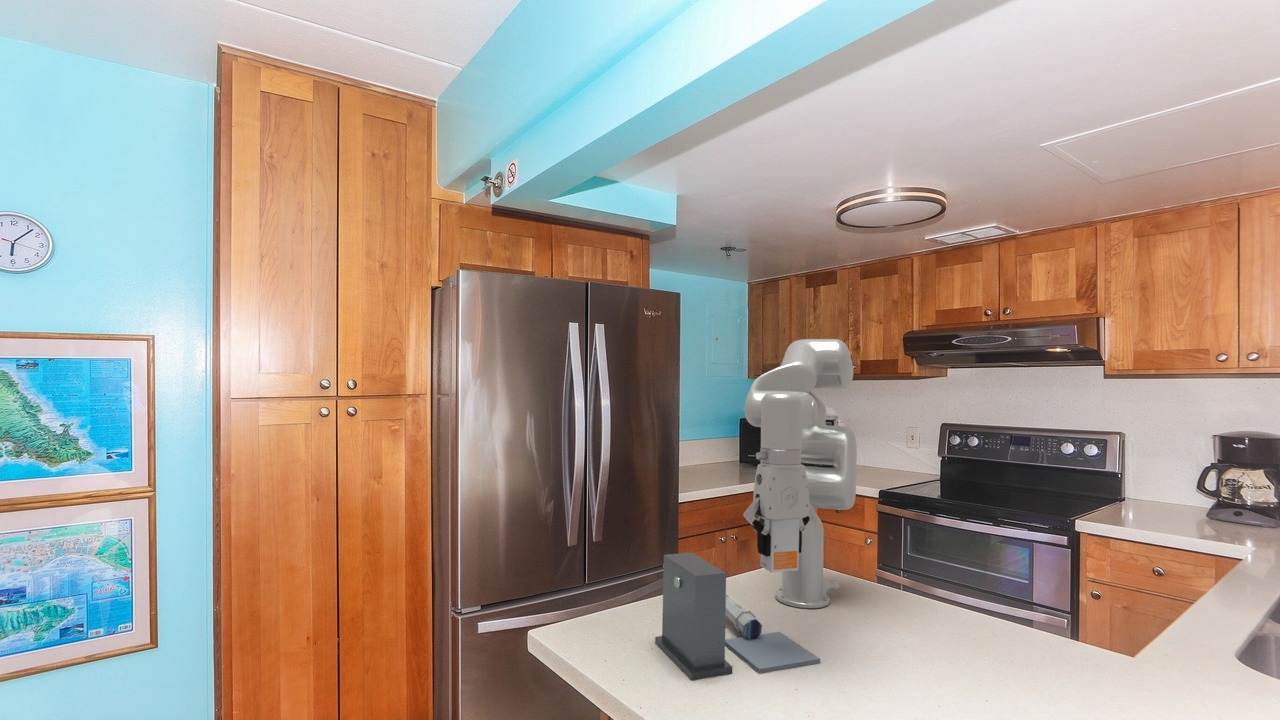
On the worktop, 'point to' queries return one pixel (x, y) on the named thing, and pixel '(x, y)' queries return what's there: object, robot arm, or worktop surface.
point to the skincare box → (783, 546)
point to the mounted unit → (694, 616)
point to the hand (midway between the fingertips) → (779, 551)
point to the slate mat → (771, 652)
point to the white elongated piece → (742, 619)
